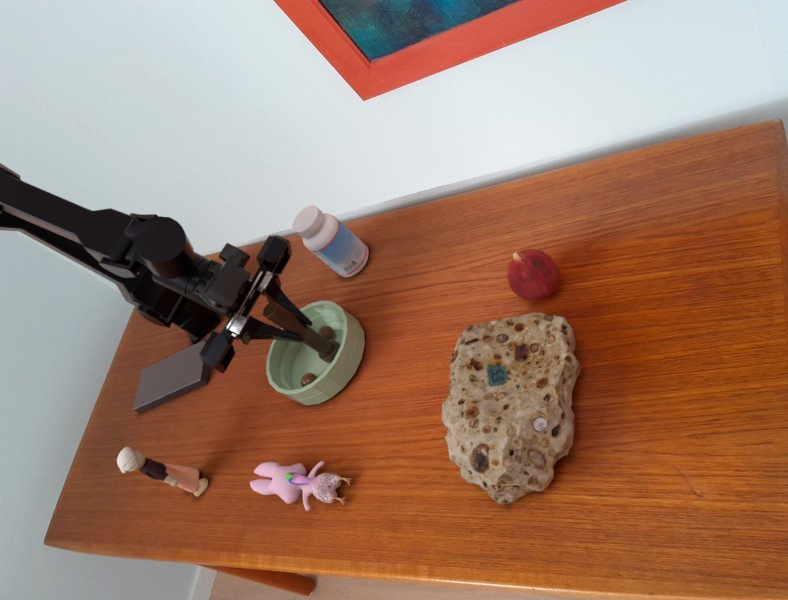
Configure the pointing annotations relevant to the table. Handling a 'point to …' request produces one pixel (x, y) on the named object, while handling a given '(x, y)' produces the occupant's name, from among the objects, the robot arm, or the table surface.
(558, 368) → the rock
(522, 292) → the onion
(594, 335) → the table surface
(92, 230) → the robot arm
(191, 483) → the grandmother figurine
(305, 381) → the hazelnut
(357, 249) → the pill bottle
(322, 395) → the bowl
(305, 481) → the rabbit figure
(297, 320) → the muddler
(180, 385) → the rest
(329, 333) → the hazelnut
